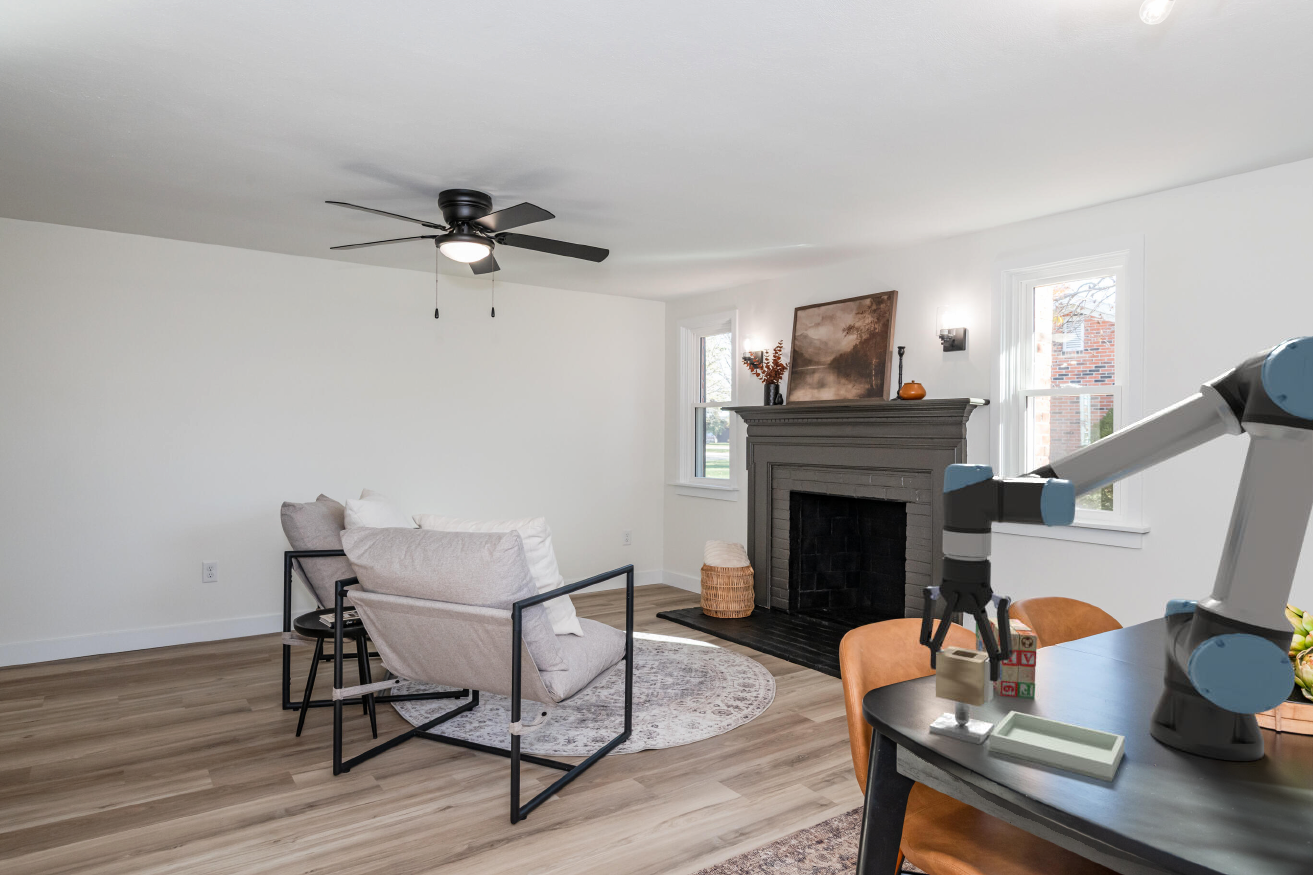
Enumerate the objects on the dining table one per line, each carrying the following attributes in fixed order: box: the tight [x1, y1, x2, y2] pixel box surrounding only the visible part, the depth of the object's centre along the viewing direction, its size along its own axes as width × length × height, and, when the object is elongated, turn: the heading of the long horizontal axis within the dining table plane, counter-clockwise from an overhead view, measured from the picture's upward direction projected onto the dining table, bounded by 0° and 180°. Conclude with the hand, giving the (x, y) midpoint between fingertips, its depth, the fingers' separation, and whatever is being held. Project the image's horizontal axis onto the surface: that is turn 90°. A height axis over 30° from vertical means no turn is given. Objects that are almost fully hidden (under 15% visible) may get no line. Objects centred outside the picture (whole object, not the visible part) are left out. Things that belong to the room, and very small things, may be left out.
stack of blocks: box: [975, 617, 1038, 699], centre depth 155 cm, size 21×6×12 cm, turn 170°
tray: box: [988, 710, 1126, 783], centre depth 120 cm, size 17×14×2 cm
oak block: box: [935, 645, 989, 707], centre depth 127 cm, size 7×7×7 cm
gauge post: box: [929, 701, 995, 745], centre depth 127 cm, size 8×8×12 cm
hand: (964, 694), depth 127 cm, fingers closed on oak block, 7 cm apart
